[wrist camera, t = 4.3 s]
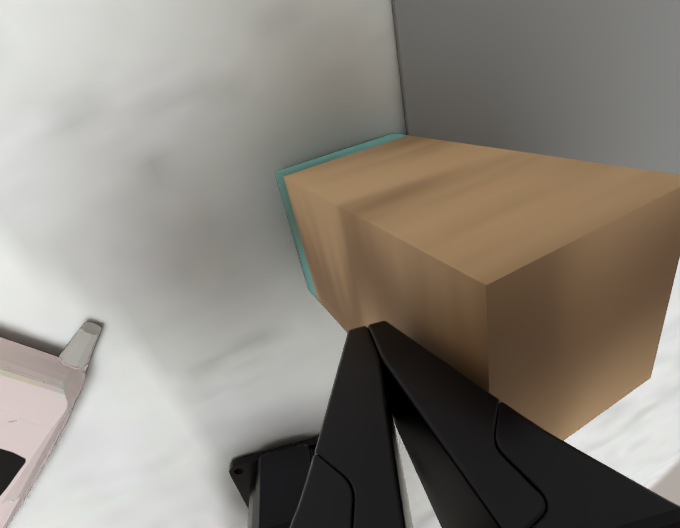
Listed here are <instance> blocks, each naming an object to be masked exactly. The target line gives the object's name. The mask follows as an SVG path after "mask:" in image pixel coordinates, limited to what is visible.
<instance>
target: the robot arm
mask: <svg viewBox="0 0 680 528" xmlns="http://www.w3.org/2000/svg"><path fill="white" fill-rule="evenodd" d="M393 419H394V421H393ZM394 422H395V425H396V427H397V430H398V432H399V434H400V437H401V439H402V441H403V443H404V445H405V448H406V450H407V452H408V454H409V456H410V459H411V461H412V463H413V465H414V467H415V470H416V472H417V474H418V476H419V479H420V481H421V483H422V485H423V487H424V490H425V492H426V494H427V496H428V498H429V501H430V503H431V505H432V507H433V509H434V512H435V514H436V516H437V518H438V520H439V523H440V525H441V527H442V528H680V506H679V505H677V504H675V503H673V502H671V501H669V500H667V499H665V498H663V497H661V496H659V495H658V494H656V493H654V492H653V491H651V490H649V489H647V488H646V487H644V486H642V485H640V484H638V483H637V482H635V481H633V480H631V479H629V478H628V477H626V476H624V475H622V474H621V473H619V472H617V471H615V470H613V469H612V468H610V467H608V466H606V465H605V464H603V463H601V462H599V461H597V460H596V459H594V458H592V457H590V456H588V455H587V454H585V453H583V452H581V451H580V450H578V449H576V448H574V447H573V446H571V445H569V444H568V443H566V442H564V441H563V440H561V439H559V438H557V437H556V436H554V435H552V434H551V433H549V432H547V431H546V430H544V429H543V428H541V427H539V426H538V425H536V424H535V423H533V422H532V421H530V420H529V419H527V418H526V417H524V416H523V415H521V414H520V413H518V412H517V411H515V410H514V409H512V408H511V407H510V406H508V405H507V404H505V403H504V402H500V400H499V399H498V398H496V397H495V396H493V395H492V394H491V393H489V392H488V391H486V390H485V389H483V388H482V387H480V386H479V385H478V384H476V383H475V382H473V381H472V380H470V379H469V378H467V377H466V376H465V375H463V374H462V373H460V372H459V371H457V370H456V369H455V368H453V367H452V366H450V365H449V364H447V363H446V362H444V361H443V360H442V359H440V358H439V357H437V356H436V355H434V354H433V353H431V352H430V351H429V350H427V349H426V348H424V347H423V346H421V345H420V344H418V343H417V342H416V341H414V340H413V339H411V338H410V337H408V336H407V335H405V334H404V333H403V332H401V331H400V330H398V329H397V328H395V327H394V326H393V325H391V324H390V323H388V322H387V321H380V322H376V323H372V324H369V325H368V328H367V327H366V326H361V327H357V328H354V329H351V330H349V331H348V334H347V338H346V341H345V345H344V348H343V352H342V356H341V359H340V363H339V366H338V370H337V374H336V377H335V381H334V384H333V388H332V392H331V395H330V399H329V402H328V406H327V409H326V413H325V417H324V420H323V424H322V427H321V431H320V435H319V437H317V438H313V439H309V440H306V441H302V442H298V443H295V444H291V445H287V446H284V447H280V448H276V449H273V450H269V451H265V452H262V453H258V454H254V455H251V456H247V457H243V458H240V459H236V460H234V461H232V462H231V464H230V469H229V473H230V475H231V477H232V479H233V481H234V483H235V485H236V486H237V488H238V490H239V492H240V494H241V496H242V498H243V499H244V501H245V503H246V505H247V507H248V509H249V512H248V528H413V524H412V518H411V513H410V507H409V502H408V496H407V490H406V485H405V479H404V474H403V468H402V463H401V457H400V452H399V446H398V440H397V435H396V430H395V425H394Z"/></svg>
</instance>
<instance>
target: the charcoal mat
mask: <svg viewBox="0 0 680 528" xmlns="http://www.w3.org/2000/svg"><path fill="white" fill-rule="evenodd" d="M392 6H393V15H394V24H395V33H396V42H397V50H398V59H399V68H400V77H401V85H402V94H403V103H404V112H405V120H406V129H407V135H409V136H416V137H423V138H430V139H437V140H444V141H451V142H458V143H465V144H472V145H478V146H485V147H492V148H499V149H506V150H513V151H520V152H527V153H534V154H541V155H547V156H554V157H561V158H568V159H575V160H582V161H589V162H596V163H603V164H610V165H616V166H623V167H630V168H637V169H644V170H651V171H658V172H665V173H672V174H679V175H680V0H392Z"/></svg>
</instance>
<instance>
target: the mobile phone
mask: <svg viewBox="0 0 680 528" xmlns="http://www.w3.org/2000/svg"><path fill="white" fill-rule="evenodd" d="M101 330H102V328H101V327H100V326H99V325H97V324H95V323H91V322H85V323H84V324H83V325H82V327H81V328H80V329H79V331H78V332H77V333H76V335H75V336H74V337H73V338H72V340H71V341H70V342H69V344H68V345H67V346H66V348H65V349H64V350H63V351H62V352H61V354H60V355H59V357H57V356H54V355H51V354H48V353H45V352H42V351H39V350H36V349H33V348H31V347H28V346H25V345H22V344H19V343H16V342H13V341H10V340H7V339H4V338H1V337H0V528H7V526H8V525H9V523H10V521H11V520H12V518H13V517H14V515H15V513H16V512H17V510H18V509H19V507H20V505H21V504H22V502H23V500H24V499H25V497H26V495H27V494H28V492H29V491H30V489H31V487H32V486H33V484H34V482H35V481H36V479H37V477H38V475H39V473H40V471H41V470H42V468H43V466H44V464H45V462H46V460H47V458H48V456H49V454H50V452H51V451H52V449H53V447H54V445H55V443H56V441H57V439H58V437H59V435H60V434H61V432H62V430H63V428H64V426H65V424H66V423H67V421H68V419H69V417H70V415H71V413H72V410H73V408H72V406H73V405H74V403H75V401H76V399H77V397H78V395H79V393H80V392H81V390H82V388H83V385H84V381H85V378H86V376H85V373H84V372H85V371H86V369H87V367H88V365H89V360H90V357H91V354H92V351H93V349H94V347H95V344H96V342H97V339H98V337H99V335H100V332H101Z"/></svg>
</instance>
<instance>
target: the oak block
mask: <svg viewBox="0 0 680 528" xmlns="http://www.w3.org/2000/svg"><path fill="white" fill-rule="evenodd" d="M275 175H276V179H277V182H278V186H279V189H280V192H281V196H282V199H283V203H284V206H285V210H286V213H287V217H288V220H289V224H290V227H291V231H292V234H293V238H294V241H295V245H296V248H297V252H298V255H299V259H300V262H301V265H302V269H303V272H304V276H305V279H306V283H307V286H308V290H309V291H310V292H311V293H312V294H313V295H314V296H315V297H316V298H317V300H318V301H319V302H320V303H321V304H322V305H323V306H324V307H325V308H326V309H327V311H328V312H329V313H330V314H331V315H332V316H333V317H334V318H335V319H336V320H337V322H338V323H339V324H340V325H341V326H342V327H343V328H344V329H345V330H346V331H347V333H348V331H349V330H351V329H354V328H357V327H361V326H366V327H367V328H368V325H369V324H372V323H376V322H380V321H387V322H388V323H390V324H391V325H393V326H394V327H395V328H397V329H398V330H400V331H401V332H403V333H404V334H405V335H407V336H408V337H410V338H411V339H413V340H414V341H416V342H417V343H418V344H420V345H421V346H423V347H424V348H426V349H427V350H429V351H430V352H431V353H433V354H434V355H436V356H437V357H439V358H440V359H442V360H443V361H444V362H446V363H447V364H449V365H450V366H452V367H453V368H455V369H456V370H457V371H459V372H460V373H462V374H463V375H465V376H466V377H467V378H469V379H470V380H472V381H473V382H475V383H476V384H478V385H479V386H480V387H482V388H483V389H485V390H486V391H488V392H489V393H491V394H492V395H493V396H495V397H496V398H498V399H499V400H500V402H504V403H505V404H507V405H508V406H510V407H511V408H512V409H514V410H515V411H517V412H518V413H520V414H521V415H523V416H524V417H526V418H527V419H529V420H530V421H532V422H533V423H535V424H536V425H538V426H539V427H541V428H543V429H544V430H546V431H547V432H549V433H551V434H552V435H554V436H556V437H557V438H559V439H561V440H563V441H564V440H565V439H566V438H568V437H569V436H570V435H572V434H573V433H575V432H576V431H577V430H579V429H580V428H582V427H583V426H584V425H586V424H587V423H589V422H590V421H591V420H593V419H594V418H595V417H597V416H598V415H600V414H601V413H602V412H604V411H605V410H607V409H608V408H609V407H611V406H612V405H613V404H615V403H616V402H618V401H619V400H620V399H622V398H623V397H625V396H626V395H627V394H629V393H630V392H632V391H633V390H634V389H636V388H637V387H638V386H640V385H641V384H643V383H644V382H645V381H647V380H648V379H650V378H651V374H652V370H653V365H654V361H655V357H656V353H657V349H658V344H659V340H660V336H661V332H662V328H663V324H664V319H665V315H666V311H667V307H668V303H669V299H670V294H671V290H672V286H673V282H674V278H675V273H676V269H677V265H678V261H679V257H680V175H679V174H672V173H665V172H658V171H651V170H644V169H637V168H630V167H623V166H616V165H610V164H603V163H596V162H589V161H582V160H575V159H568V158H561V157H554V156H547V155H541V154H534V153H527V152H520V151H513V150H506V149H499V148H492V147H485V146H478V145H472V144H465V143H458V142H451V141H444V140H437V139H430V138H423V137H416V136H409V135H403V134H396V133H393V134H389V135H386V136H383V137H380V138H377V139H374V140H371V141H368V142H365V143H362V144H359V145H356V146H352V147H349V148H346V149H343V150H340V151H337V152H334V153H331V154H328V155H325V156H322V157H319V158H315V159H312V160H309V161H306V162H303V163H300V164H297V165H294V166H291V167H288V168H285V169H282V170H279V171H275Z"/></svg>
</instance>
